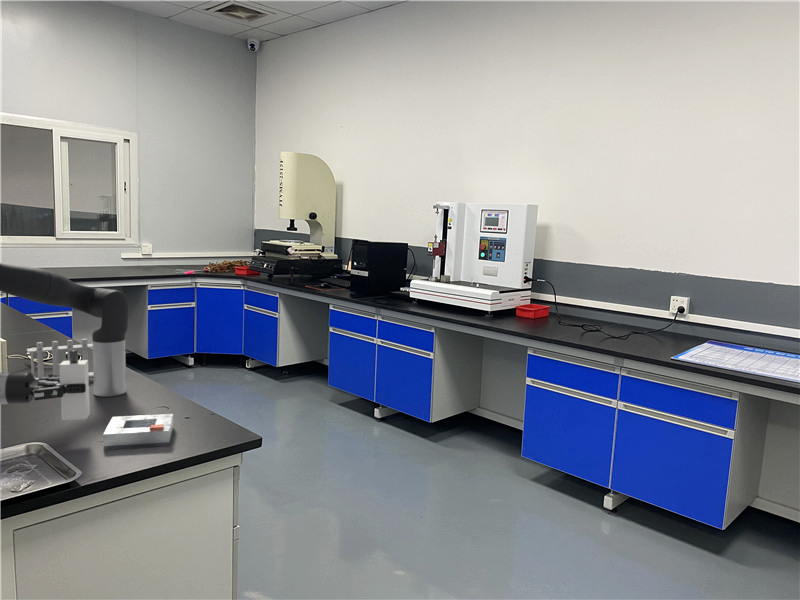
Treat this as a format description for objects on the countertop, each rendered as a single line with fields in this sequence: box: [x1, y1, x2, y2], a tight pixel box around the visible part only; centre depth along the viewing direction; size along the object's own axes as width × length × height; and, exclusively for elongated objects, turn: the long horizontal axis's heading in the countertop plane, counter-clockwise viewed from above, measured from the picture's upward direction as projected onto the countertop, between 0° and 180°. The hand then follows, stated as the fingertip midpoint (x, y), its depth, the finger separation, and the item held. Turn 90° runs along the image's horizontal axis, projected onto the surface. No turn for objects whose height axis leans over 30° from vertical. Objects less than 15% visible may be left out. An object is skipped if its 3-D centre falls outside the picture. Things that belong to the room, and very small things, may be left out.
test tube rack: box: [26, 338, 93, 379], centre depth 203 cm, size 25×4×13 cm, turn 126°
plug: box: [59, 349, 91, 421], centre depth 147 cm, size 4×6×17 cm
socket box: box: [102, 413, 174, 451], centre depth 153 cm, size 13×15×5 cm
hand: (87, 385), depth 148 cm, fingers closed on plug, 4 cm apart
